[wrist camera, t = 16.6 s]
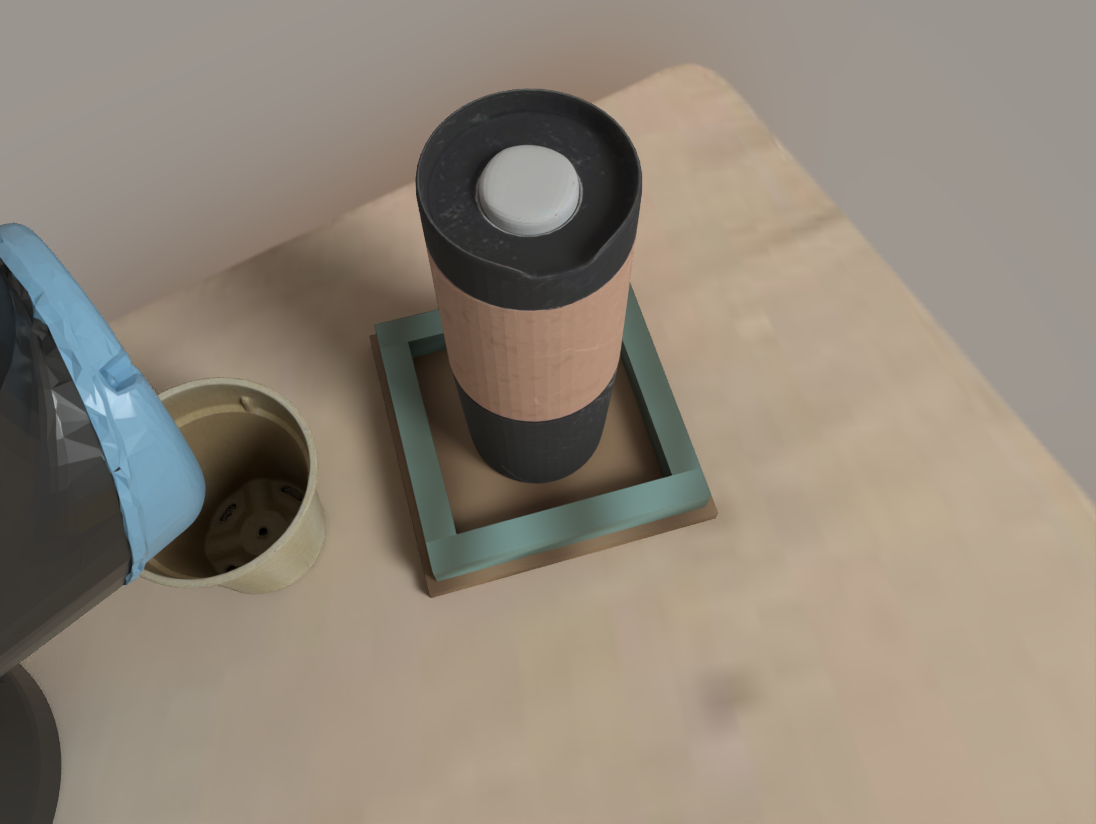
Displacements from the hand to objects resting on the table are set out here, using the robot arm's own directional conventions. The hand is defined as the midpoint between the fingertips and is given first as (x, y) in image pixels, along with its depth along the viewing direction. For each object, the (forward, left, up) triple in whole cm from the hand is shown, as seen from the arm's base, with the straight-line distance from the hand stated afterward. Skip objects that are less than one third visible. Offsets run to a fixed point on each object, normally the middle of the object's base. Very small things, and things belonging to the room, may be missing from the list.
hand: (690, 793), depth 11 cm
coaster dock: (+3, +19, -31) cm, 37 cm away
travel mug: (+3, +19, -31) cm, 36 cm away
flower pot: (-12, +17, -32) cm, 38 cm away
